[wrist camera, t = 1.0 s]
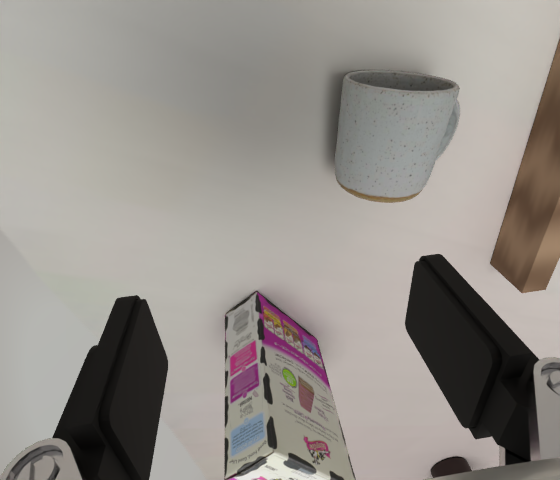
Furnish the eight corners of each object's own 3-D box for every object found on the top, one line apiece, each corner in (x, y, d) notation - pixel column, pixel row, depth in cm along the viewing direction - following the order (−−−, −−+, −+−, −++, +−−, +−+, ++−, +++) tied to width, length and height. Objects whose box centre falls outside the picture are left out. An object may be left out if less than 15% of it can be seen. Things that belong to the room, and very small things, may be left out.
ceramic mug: (322, 172, 31) (349, 213, 24) (330, 69, 26) (366, 85, 20) (435, 167, 32) (489, 205, 26) (460, 68, 28) (533, 84, 21)
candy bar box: (221, 315, 38) (219, 483, 24) (256, 289, 37) (274, 451, 23) (286, 360, 43) (315, 519, 30) (318, 339, 42) (364, 495, 28)
